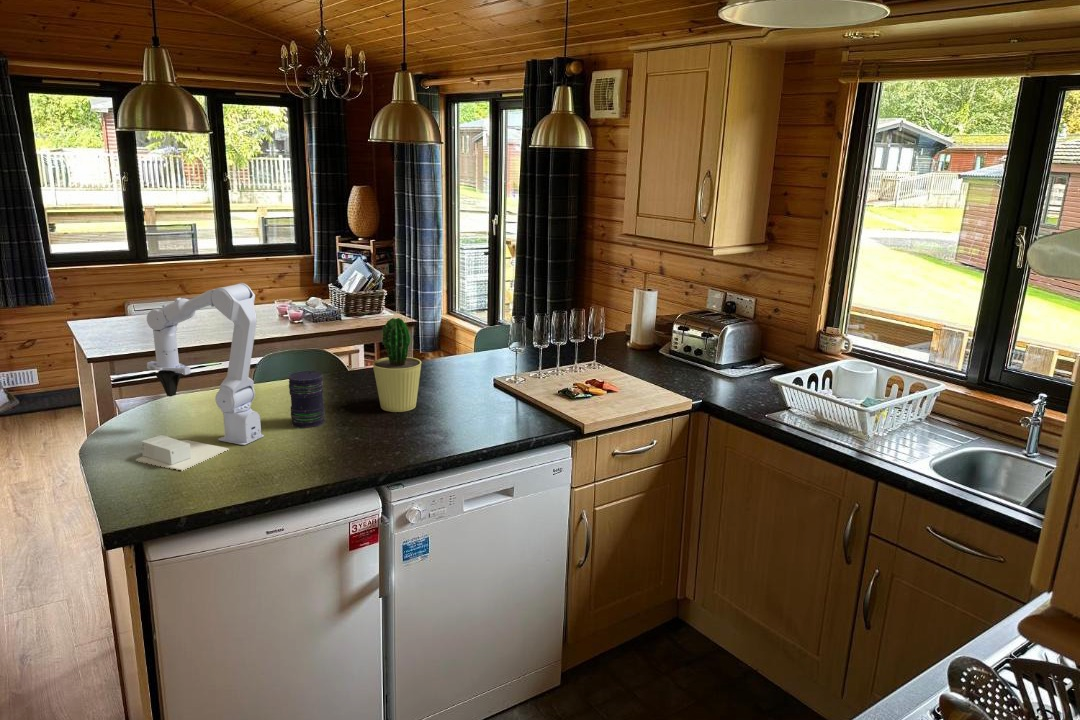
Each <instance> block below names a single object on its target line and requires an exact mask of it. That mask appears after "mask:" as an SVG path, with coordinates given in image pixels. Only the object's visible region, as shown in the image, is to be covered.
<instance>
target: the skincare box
mask: <svg viewBox="0 0 1080 720" xmlns="http://www.w3.org/2000/svg"><path fill="white" fill-rule="evenodd" d="M140 442H141V449H142V450H141V451H142V457H143V456H146V457H149V458H152V459H155V460H158V461H161V462H164V463H167V464H170V465H173V464H176V463H178V462H181V461H184V460H186V459H189V458H191V451H190V444H189V443H186V442H183V441H182V440H180V439H176V438H172V437H170V436H167V435H162V434H160V435H157V436H154V437H150V438H147V439H144V440H140Z"/></svg>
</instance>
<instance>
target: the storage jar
mask: <svg viewBox="0 0 1080 720" xmlns="http://www.w3.org/2000/svg"><path fill="white" fill-rule="evenodd" d="M288 380H289V381H288V388H289V391H288V392H289V396H290V402H291V403H290V404H291V406H290V418H291V426H292V425H293V427H294V426H295V427H294V428H297V427H299V428H298V429H312V427H313V428H317V427H321V426H323V425H324V424H325V422H326V420H325V414H326V409H325V404H324V395H323V393H324V382H323V373H322V372H319V371H316V370H315V371H314V370H306V371H305V370H304V371H297V372H293V373H290V374H289V375H288ZM320 425H321V426H320Z"/></svg>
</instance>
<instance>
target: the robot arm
mask: <svg viewBox="0 0 1080 720" xmlns="http://www.w3.org/2000/svg"><path fill="white" fill-rule="evenodd" d="M255 299H256V294H255V293H254V292H253V291H252V289H251V287H250V286H249V285H248V284H247V283H245V282H244V283H243V282H239V283H236V284H233V285H232V284H231V285H228V286H227V285H226V286H223V287H222V286H221V287H217V288H214V289H209V290H206V291H205V292H202V293H201V294H199V295H197V296H195V297H193V298H191V299H188V298H182V297H178V298H177V297H176V298H174V300H173V302H172V303H171V302H170V303H169V304H168V303H165V304H163V305H161V308H157V309H155V308H154V309H151V310H150V311H149V312H148V313H147V315H146V322H147V325H148V327H149V328H150V329H151V330H152V332H153V343H154V351H155V359H156V361H153V360H151V361H148V362H146V368H147V370H154V371H159V372H156V373H155V377H156V378H157V379H158V381H159V382H160V383H161V385H162V387H163V389H164V390H163V391H164V392H165V394H166V396H167V397H170V398H171V397H175V396H176V395H177V391H178V385H179V381H180V379H181V377H182V376H183V375H184V376H187V375H190V374H192V373H191V371H192V370H191V367H190V366H187V365H184V364H182V363H180V359H179V352H178V351H179V349H178V348H179V347H178V342H177V341H178V340H177V331H178V325H179V324H181V323H182V322H184V321H187V320H189V319H192V318H194V317H195V314H196V312H197V311H198V310H201V309H202V308H206V307H209V306H210V307H211V308H212V307H214V308H215V309H216V310H218V312H220V313H221V314H222V315H223V316H224V317H226V318H227V319H228V320H229V321H231V322H232V323H233V332H232V339H231V346H230V353H229V361H228V368H227V373H226V377H225V378H224V379H223V381H222V382H221V383H220V385H219V389H218V392H216V394H215V396H214V397H215V399H214V400H215V405H217V407H218V409H220V412H222V415H223V416H222V417H223V427H224V436H220V437H219V438H218V439H217V440H218V441H221V442H226V443H231V444H236V445H241V446H246V445H248V444H250V443H252V442H253V443H254V442H255V441H256V440H259V439H261V438H263V437H264V434H262V426H261V416H260V414H259V412H257V411H255V410H254V409H252V408H251V406H252V402H253V401H254V399H255V397H256V396H255V395H256V391H255V388H254V387H255V386H254V383H255V382H254V380H253V379H252V378H250V377H249V376H250V375H249V374H250V371H251V370H250V369H251V363H252V356H253V348H254V343H255V336H256V330H257V329H256V327H257V322H258V319H257V314H256V307H255Z"/></svg>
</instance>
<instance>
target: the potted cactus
mask: <svg viewBox="0 0 1080 720" xmlns="http://www.w3.org/2000/svg"><path fill="white" fill-rule="evenodd" d="M406 322H407V321H405V319H404V320H403V318H401V317H396V318H395V317H393V318H390V319H388V320H387V321H386V322H385V323H384V325H383V326H382V328H381V330H382V334H381V338H380V341H381V342H382V344H381V346H383V345H384V348H386V353H387V355H386V357H384V358H383V357H382V358H379V359H376V360H374V361H373V362H372V367H373V372H374V378H375V382H376V383H375V384H376V388H377V394H378V400H379V405H380V408H381V410H383V411H386V412H391V413H397V412H398V413H402V412H408V411H412V410H413V409H415V408H416V407H417V399H418V393H419V385H420V377H421V369H422V361H421V360H420V359H418V358H415V357H410V356H408V355H409V353H408V352H409V351H410V349H409V347H410V345H411V343H412V344H413V340H411V338H412V336H411V335H410V331H409V329H410V327H408V325H407V323H406ZM412 331H413V330H412ZM412 331H411V332H412Z"/></svg>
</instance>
